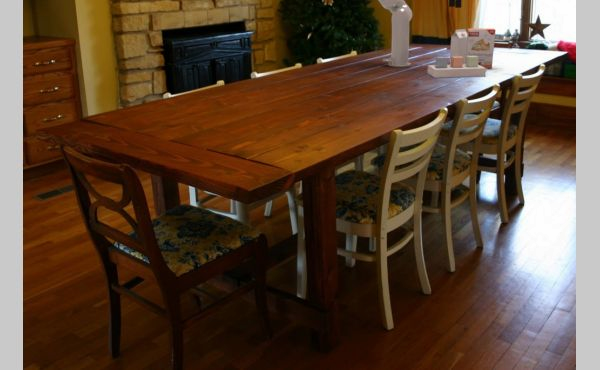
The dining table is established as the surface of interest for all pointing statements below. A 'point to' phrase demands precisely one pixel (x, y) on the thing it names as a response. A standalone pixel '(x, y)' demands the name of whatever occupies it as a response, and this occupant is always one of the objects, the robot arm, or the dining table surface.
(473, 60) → the key sage
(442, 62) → the key slate
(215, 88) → the dining table surface
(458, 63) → the key terracotta
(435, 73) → the white rectangular tray
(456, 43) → the milk carton
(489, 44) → the cracker box
